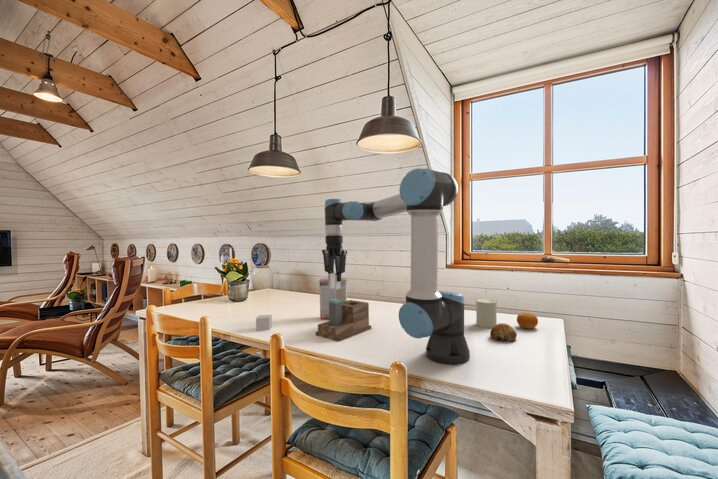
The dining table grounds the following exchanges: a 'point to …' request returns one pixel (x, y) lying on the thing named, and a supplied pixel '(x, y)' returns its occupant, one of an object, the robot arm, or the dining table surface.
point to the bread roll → (503, 333)
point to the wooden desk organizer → (347, 322)
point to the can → (486, 313)
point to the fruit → (527, 320)
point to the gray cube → (263, 322)
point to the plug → (335, 312)
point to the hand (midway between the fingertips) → (335, 288)
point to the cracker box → (330, 295)
